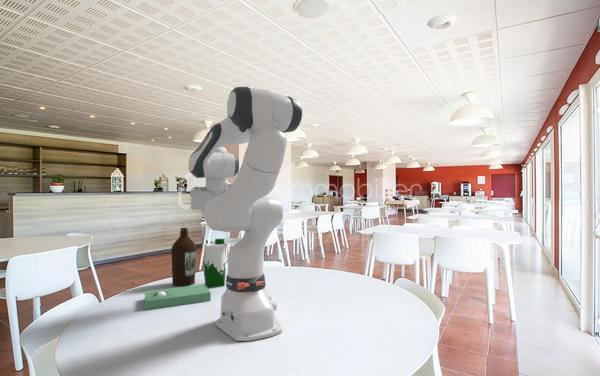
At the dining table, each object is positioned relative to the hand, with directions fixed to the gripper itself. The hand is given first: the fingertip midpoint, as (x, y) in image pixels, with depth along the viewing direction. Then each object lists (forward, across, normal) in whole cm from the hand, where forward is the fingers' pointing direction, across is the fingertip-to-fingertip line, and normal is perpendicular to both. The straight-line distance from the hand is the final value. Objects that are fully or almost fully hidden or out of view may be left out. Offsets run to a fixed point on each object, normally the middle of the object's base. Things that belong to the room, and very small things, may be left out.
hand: (216, 220), depth 131 cm
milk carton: (+29, +2, +13) cm, 32 cm away
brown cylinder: (+29, -10, +21) cm, 37 cm away
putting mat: (+29, -15, -2) cm, 33 cm away
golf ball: (+27, -20, -2) cm, 34 cm away
